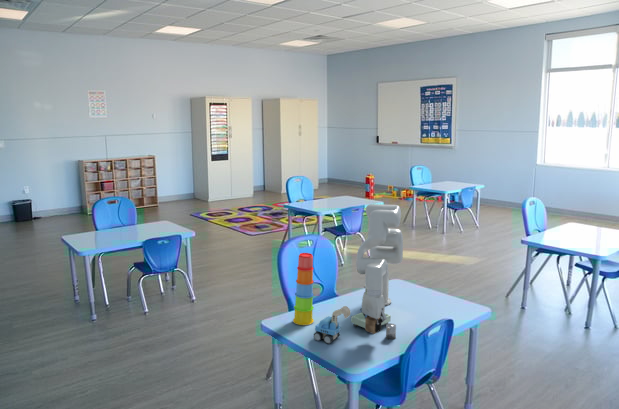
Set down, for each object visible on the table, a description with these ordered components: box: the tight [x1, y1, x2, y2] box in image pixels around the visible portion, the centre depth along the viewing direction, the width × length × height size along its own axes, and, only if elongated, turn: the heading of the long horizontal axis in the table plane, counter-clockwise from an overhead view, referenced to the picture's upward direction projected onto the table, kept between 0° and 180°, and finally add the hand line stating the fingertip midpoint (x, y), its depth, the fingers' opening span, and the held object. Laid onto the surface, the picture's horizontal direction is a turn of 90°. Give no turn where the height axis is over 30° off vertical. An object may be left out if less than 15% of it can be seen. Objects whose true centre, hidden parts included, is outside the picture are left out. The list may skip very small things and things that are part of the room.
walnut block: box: [364, 316, 379, 335], centre depth 224 cm, size 5×5×6 cm
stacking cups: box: [292, 252, 315, 326], centre depth 246 cm, size 10×10×35 cm
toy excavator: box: [313, 305, 351, 345], centre depth 226 cm, size 9×17×17 cm, turn 58°
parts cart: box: [350, 311, 392, 334], centre depth 242 cm, size 12×15×5 cm
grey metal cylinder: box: [385, 322, 397, 341], centre depth 229 cm, size 4×4×6 cm
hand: (373, 328), depth 225 cm, fingers closed on walnut block, 5 cm apart
